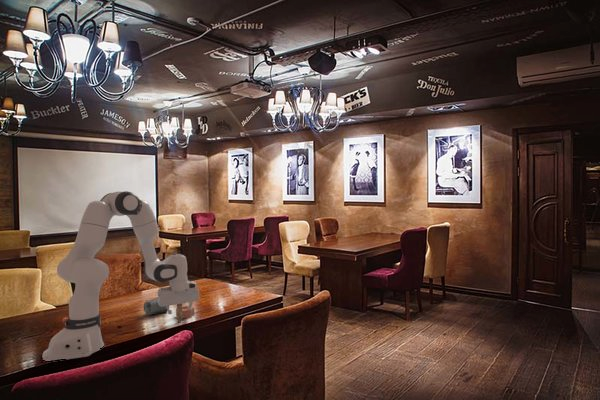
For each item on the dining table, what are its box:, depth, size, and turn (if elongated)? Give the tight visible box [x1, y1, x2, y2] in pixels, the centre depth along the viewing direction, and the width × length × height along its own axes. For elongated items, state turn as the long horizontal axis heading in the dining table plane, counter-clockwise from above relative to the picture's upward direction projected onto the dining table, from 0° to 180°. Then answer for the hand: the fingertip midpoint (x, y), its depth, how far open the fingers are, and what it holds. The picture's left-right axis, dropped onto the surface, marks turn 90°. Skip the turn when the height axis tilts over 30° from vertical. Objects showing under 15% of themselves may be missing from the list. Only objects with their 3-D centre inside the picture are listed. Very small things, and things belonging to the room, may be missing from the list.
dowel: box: [176, 303, 183, 323], centre depth 201 cm, size 2×2×10 cm
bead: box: [175, 304, 196, 319], centre depth 211 cm, size 9×9×4 cm
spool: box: [143, 297, 168, 316], centre depth 215 cm, size 14×10×10 cm
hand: (179, 312), depth 201 cm, fingers open, 8 cm apart
